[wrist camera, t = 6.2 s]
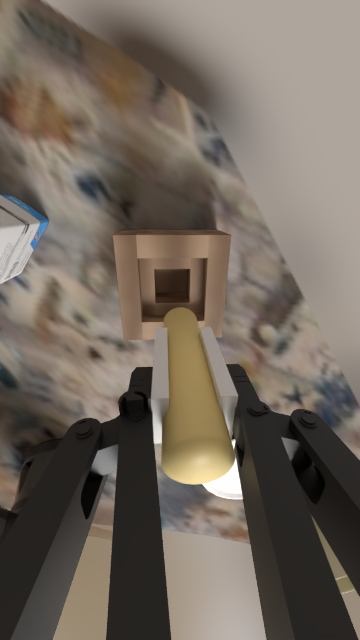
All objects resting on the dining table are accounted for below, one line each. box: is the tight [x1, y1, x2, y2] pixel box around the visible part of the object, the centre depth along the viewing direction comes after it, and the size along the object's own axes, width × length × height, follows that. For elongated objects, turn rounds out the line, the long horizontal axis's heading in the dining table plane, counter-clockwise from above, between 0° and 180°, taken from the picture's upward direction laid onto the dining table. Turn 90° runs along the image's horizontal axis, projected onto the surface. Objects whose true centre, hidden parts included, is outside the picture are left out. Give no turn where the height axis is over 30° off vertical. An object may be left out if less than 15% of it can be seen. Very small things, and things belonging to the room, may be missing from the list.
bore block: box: [113, 230, 231, 340], centre depth 30 cm, size 12×12×7 cm
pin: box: [161, 307, 235, 484], centre depth 14 cm, size 3×3×12 cm
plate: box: [203, 438, 243, 499], centre depth 52 cm, size 21×21×1 cm
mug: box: [311, 516, 355, 593], centre depth 57 cm, size 11×10×12 cm
